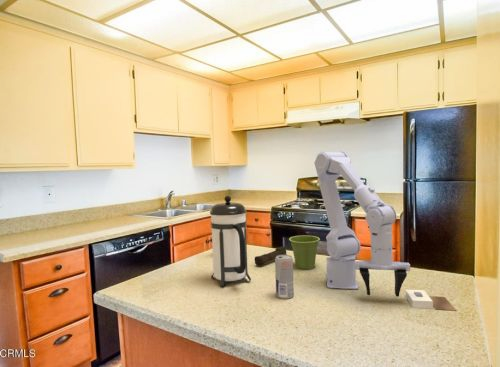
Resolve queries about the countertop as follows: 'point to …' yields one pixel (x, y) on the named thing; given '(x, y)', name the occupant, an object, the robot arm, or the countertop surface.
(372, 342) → the countertop surface
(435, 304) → the brown flat slab
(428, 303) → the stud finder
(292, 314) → the countertop surface
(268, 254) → the hand tool
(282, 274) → the energy drink
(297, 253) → the plant pot
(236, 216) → the coffee press
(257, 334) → the countertop surface
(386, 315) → the countertop surface
